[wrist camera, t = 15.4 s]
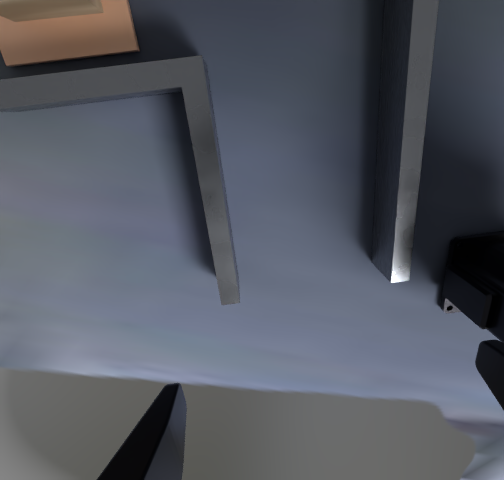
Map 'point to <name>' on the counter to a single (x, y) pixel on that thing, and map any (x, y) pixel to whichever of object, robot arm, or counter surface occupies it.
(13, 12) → the maple block
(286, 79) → the counter surface
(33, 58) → the pad
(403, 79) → the channel
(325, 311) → the counter surface
